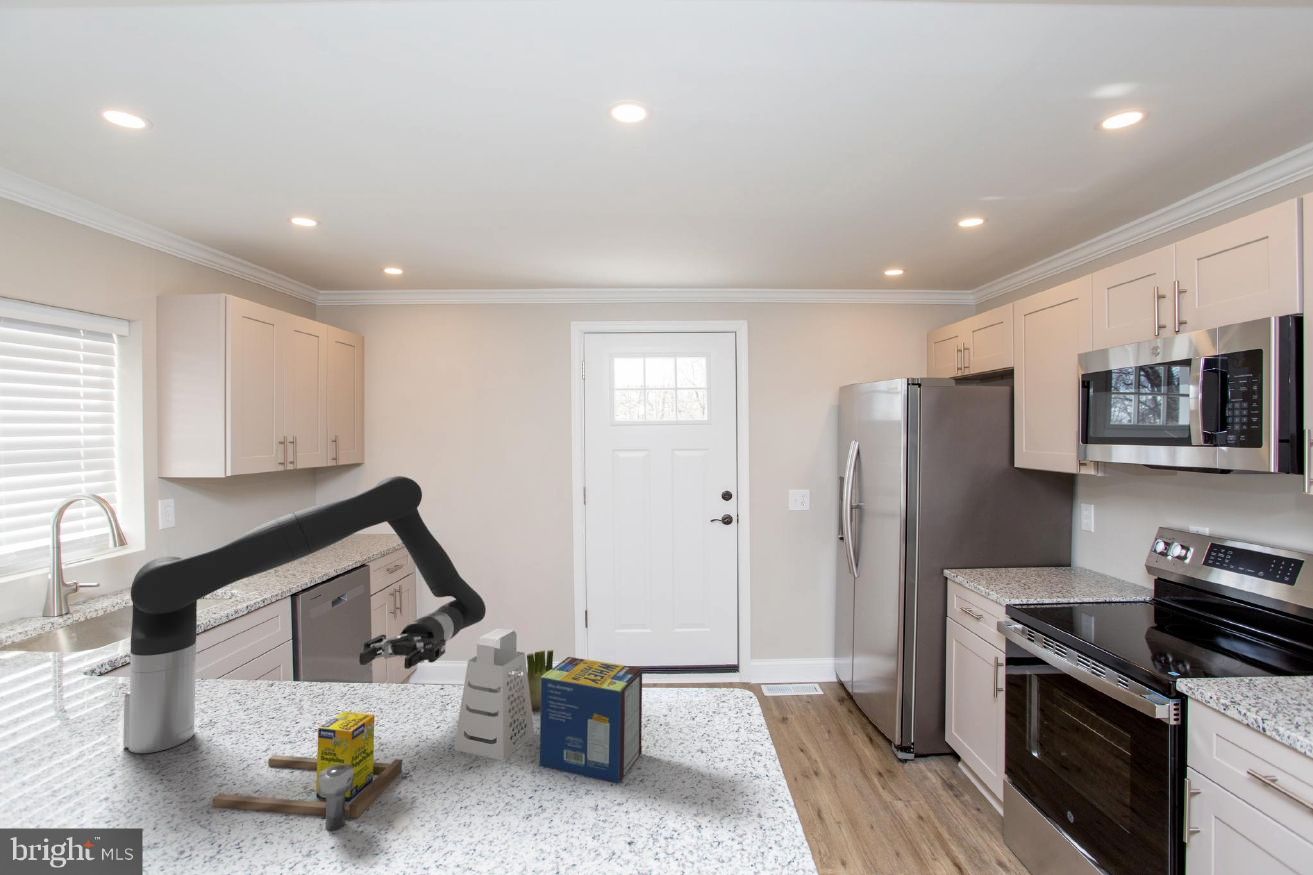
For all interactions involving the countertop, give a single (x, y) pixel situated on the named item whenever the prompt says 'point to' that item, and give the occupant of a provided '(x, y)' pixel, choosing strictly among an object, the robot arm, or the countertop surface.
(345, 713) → the supplement box
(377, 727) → the countertop surface
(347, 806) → the bay
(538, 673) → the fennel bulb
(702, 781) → the countertop surface
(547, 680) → the protein box
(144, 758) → the countertop surface
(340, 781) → the grey bolt
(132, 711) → the robot arm
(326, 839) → the countertop surface
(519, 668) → the grater
